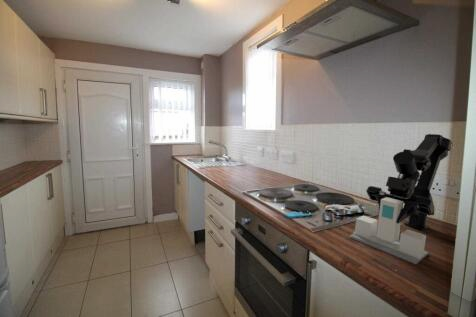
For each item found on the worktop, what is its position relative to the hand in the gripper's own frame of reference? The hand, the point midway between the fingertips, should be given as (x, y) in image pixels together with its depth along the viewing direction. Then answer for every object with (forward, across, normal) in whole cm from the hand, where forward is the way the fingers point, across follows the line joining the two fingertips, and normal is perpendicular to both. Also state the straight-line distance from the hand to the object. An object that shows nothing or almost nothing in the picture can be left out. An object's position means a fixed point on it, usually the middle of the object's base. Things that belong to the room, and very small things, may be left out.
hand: (388, 219), depth 78 cm
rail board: (+6, 0, +7) cm, 9 cm away
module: (+4, 0, +6) cm, 7 cm away
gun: (-7, -25, +21) cm, 33 cm away
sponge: (+9, -35, +5) cm, 36 cm away
